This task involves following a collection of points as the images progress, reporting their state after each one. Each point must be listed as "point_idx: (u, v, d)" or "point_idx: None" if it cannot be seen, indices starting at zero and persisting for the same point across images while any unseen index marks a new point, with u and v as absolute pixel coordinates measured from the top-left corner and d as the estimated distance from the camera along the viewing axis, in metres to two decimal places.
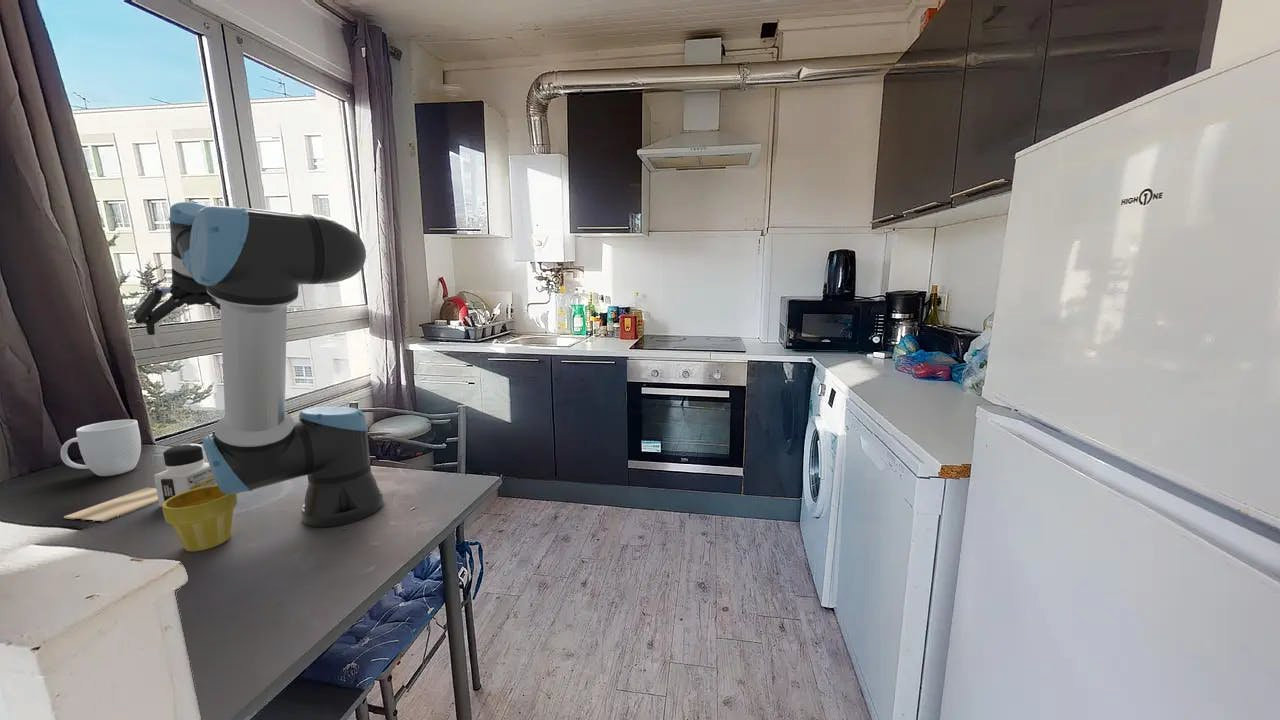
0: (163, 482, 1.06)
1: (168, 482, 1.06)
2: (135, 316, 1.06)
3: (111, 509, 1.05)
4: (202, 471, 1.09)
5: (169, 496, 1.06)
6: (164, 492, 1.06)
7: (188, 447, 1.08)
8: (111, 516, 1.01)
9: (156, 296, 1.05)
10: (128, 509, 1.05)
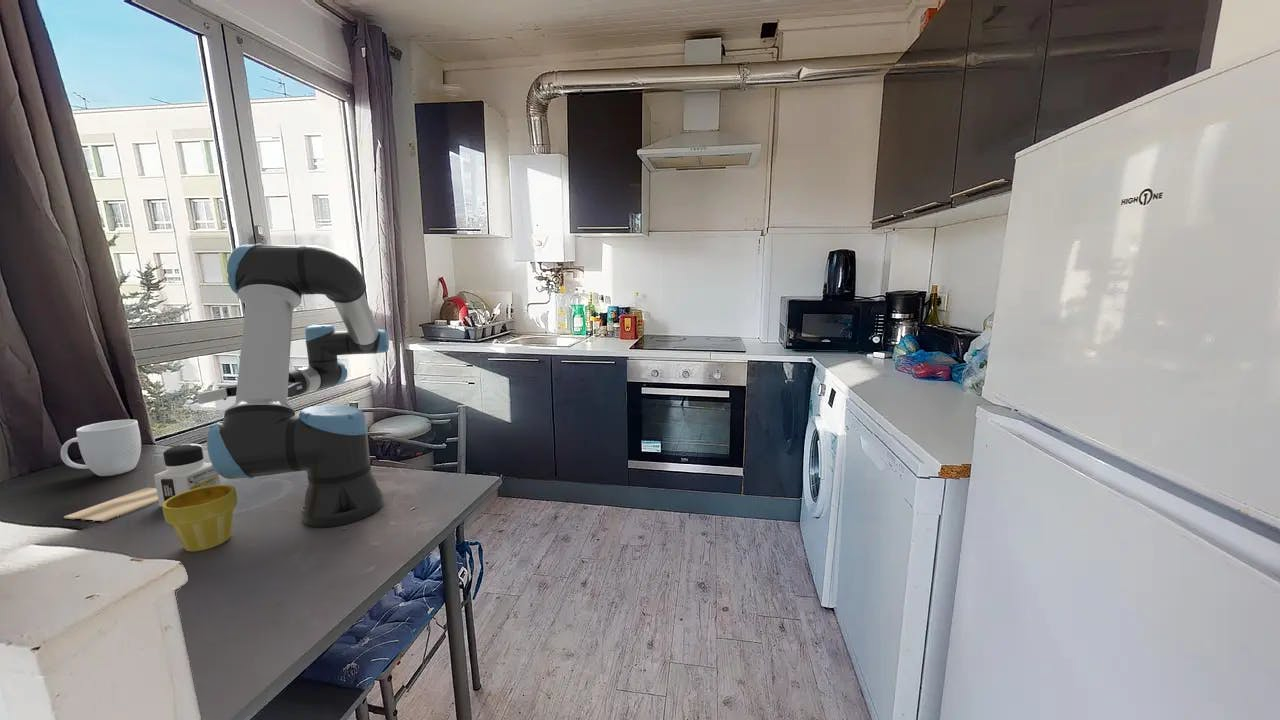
0: (163, 482, 1.06)
1: (168, 482, 1.06)
2: None
3: (111, 509, 1.05)
4: (202, 471, 1.09)
5: (169, 496, 1.06)
6: (164, 492, 1.06)
7: (188, 447, 1.08)
8: (111, 516, 1.01)
9: None
10: (128, 509, 1.05)
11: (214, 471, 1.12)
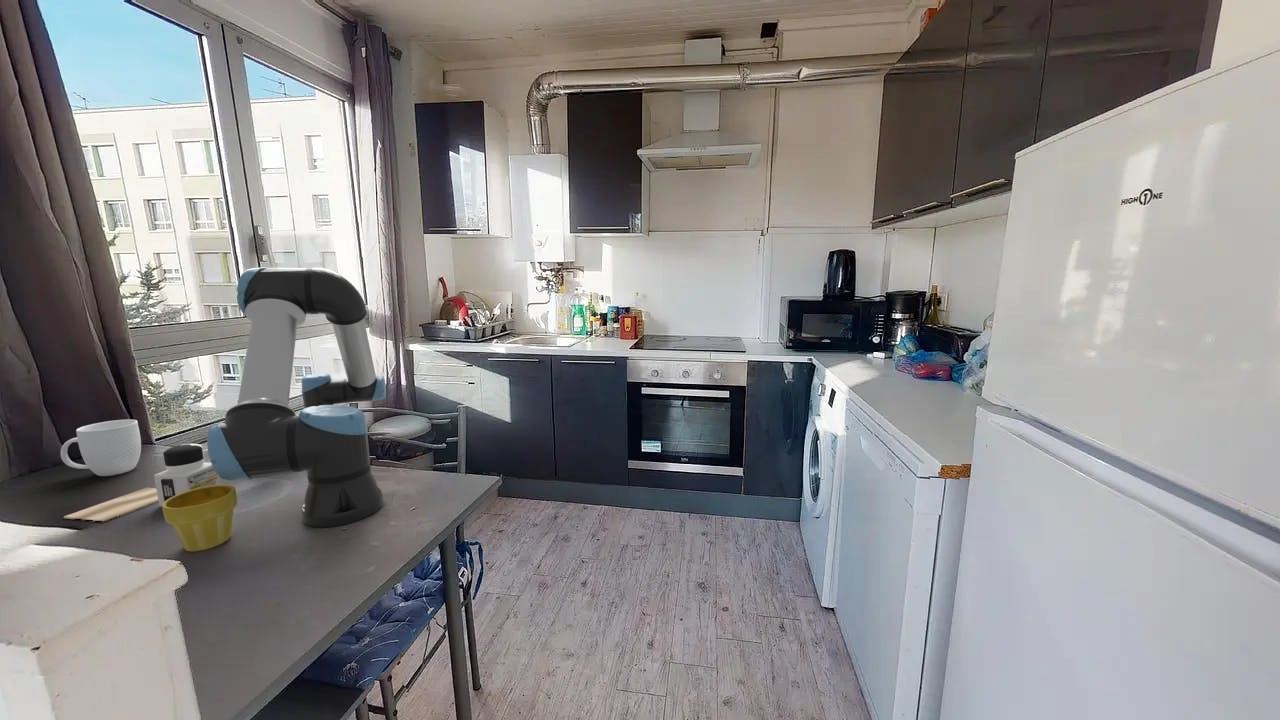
0: (163, 482, 1.06)
1: (168, 482, 1.06)
2: None
3: (111, 509, 1.05)
4: (202, 471, 1.09)
5: (169, 496, 1.06)
6: (164, 492, 1.06)
7: (188, 447, 1.08)
8: (111, 516, 1.01)
9: None
10: (128, 509, 1.05)
11: (214, 471, 1.12)
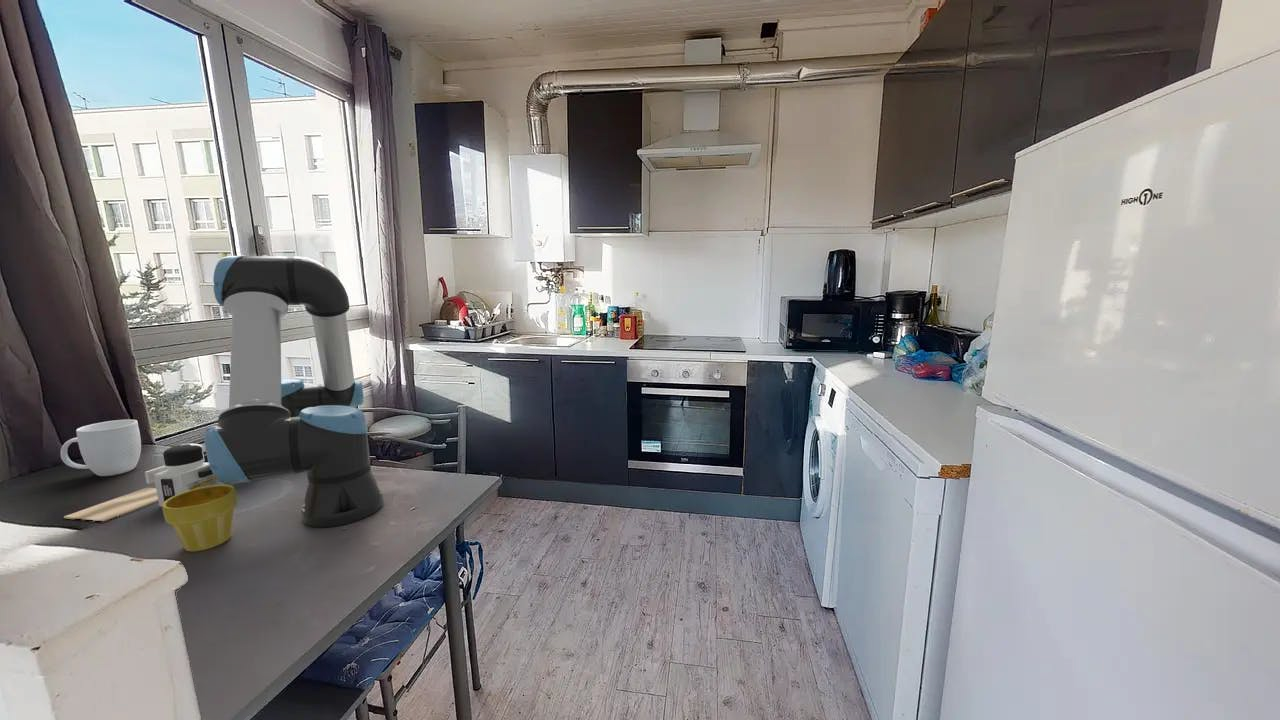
0: (163, 482, 1.06)
1: (168, 482, 1.06)
2: None
3: (111, 509, 1.05)
4: None
5: (169, 496, 1.06)
6: (164, 492, 1.06)
7: (188, 446, 1.08)
8: (111, 516, 1.01)
9: None
10: (128, 509, 1.05)
11: None
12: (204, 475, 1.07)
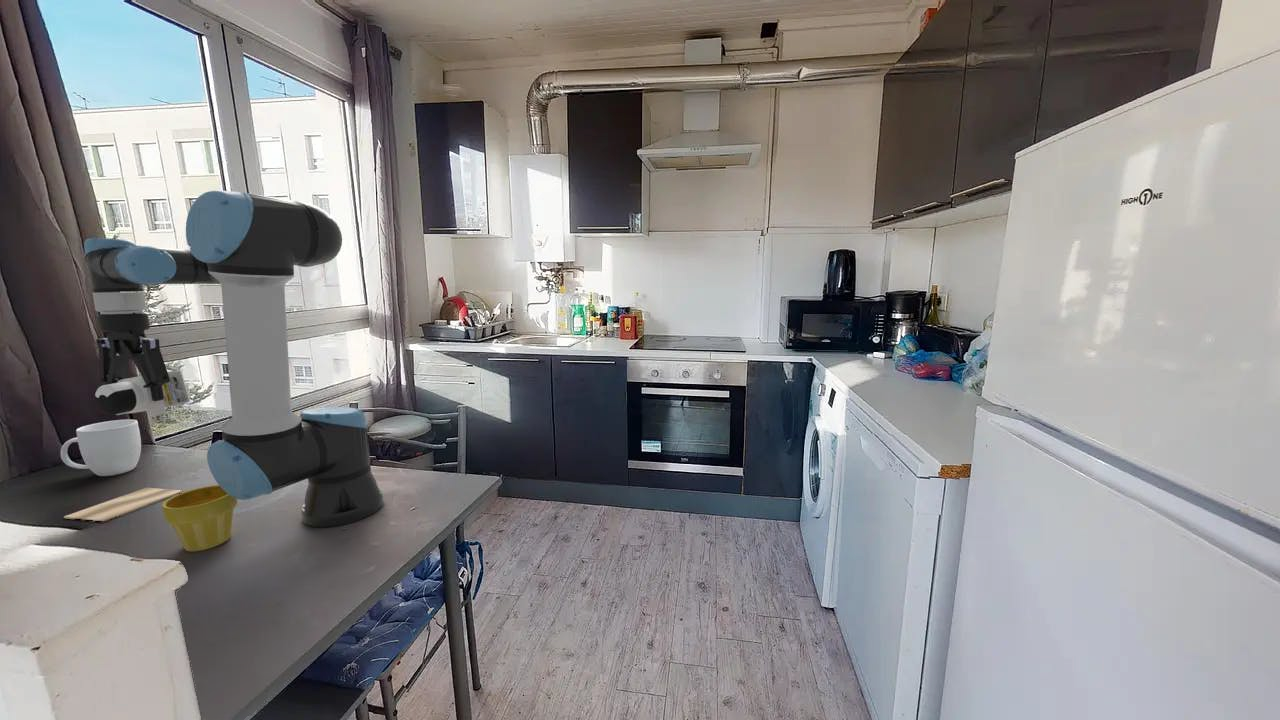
0: None
1: None
2: None
3: (111, 509, 1.05)
4: None
5: None
6: None
7: (110, 401, 0.99)
8: (111, 516, 1.01)
9: (99, 346, 1.03)
10: (128, 509, 1.05)
11: None
12: (161, 398, 1.04)
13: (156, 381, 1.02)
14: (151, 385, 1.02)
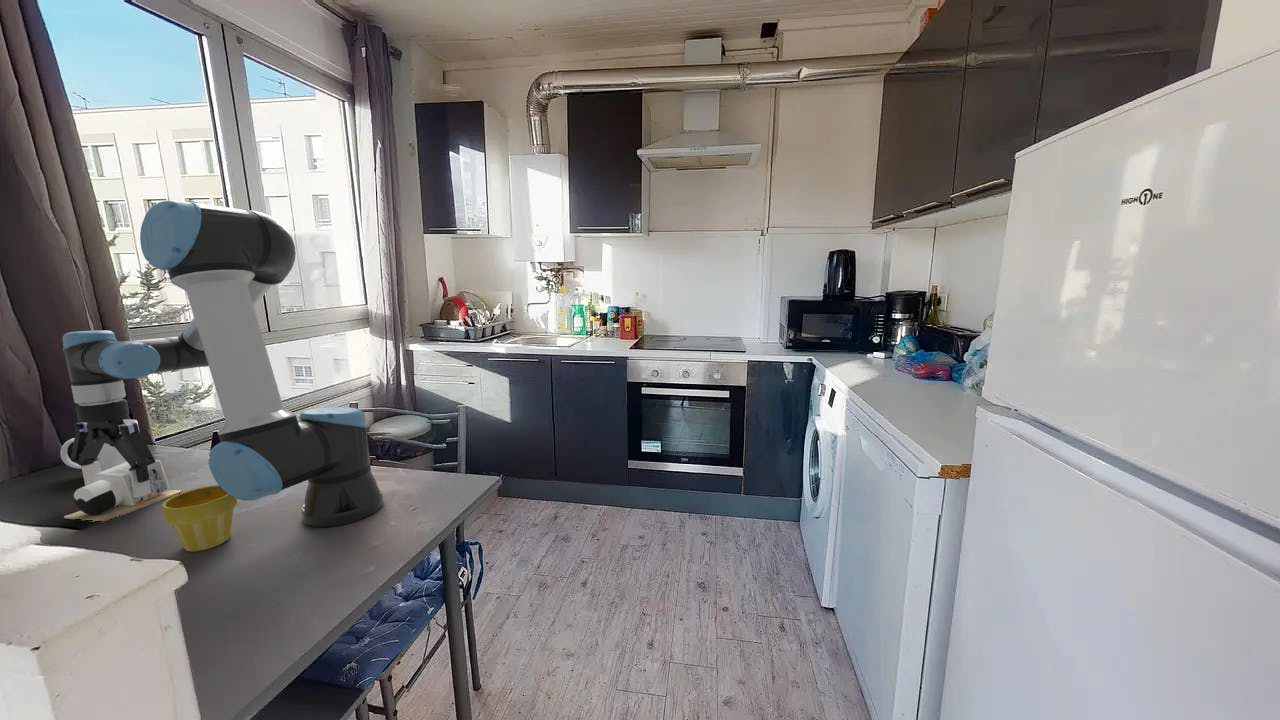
0: None
1: None
2: None
3: (111, 509, 1.05)
4: (130, 490, 1.05)
5: None
6: None
7: (89, 505, 1.00)
8: (111, 516, 1.01)
9: (76, 430, 1.04)
10: (128, 509, 1.05)
11: None
12: (147, 479, 1.05)
13: (141, 463, 1.02)
14: (136, 467, 1.03)
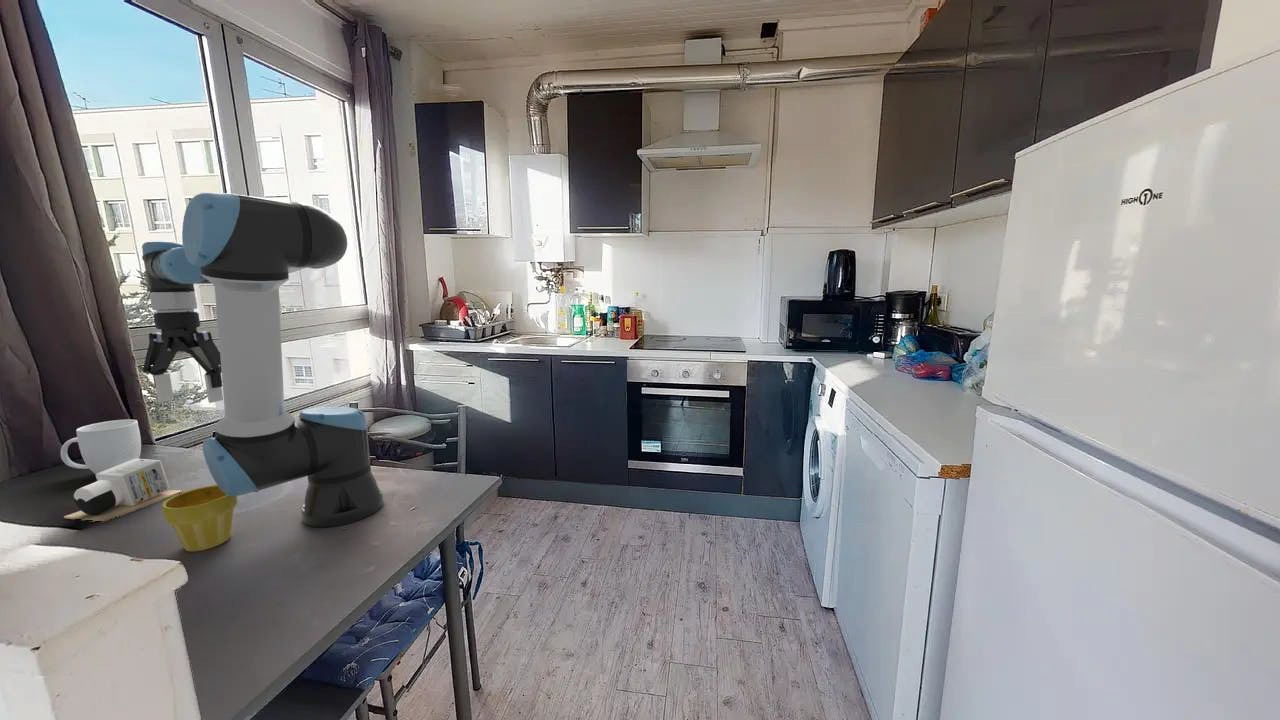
0: None
1: None
2: None
3: (111, 509, 1.05)
4: (130, 490, 1.05)
5: None
6: None
7: (89, 505, 1.00)
8: (111, 516, 1.01)
9: (150, 340, 1.09)
10: (128, 509, 1.05)
11: (132, 476, 1.06)
12: (220, 385, 1.10)
13: (217, 368, 1.08)
14: (212, 372, 1.09)
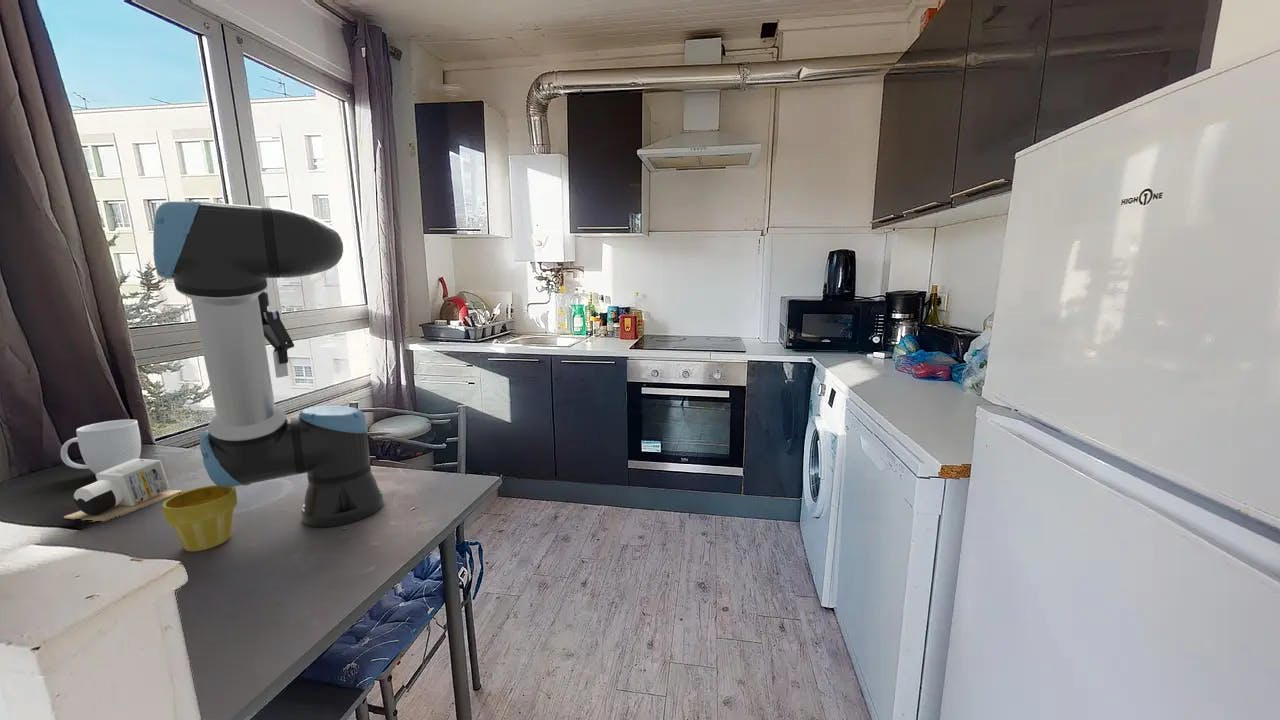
0: None
1: None
2: None
3: (111, 509, 1.05)
4: (130, 490, 1.05)
5: None
6: None
7: (89, 505, 1.00)
8: (111, 516, 1.01)
9: None
10: (128, 509, 1.05)
11: (132, 476, 1.06)
12: (286, 361, 1.18)
13: (284, 345, 1.15)
14: (279, 349, 1.16)
